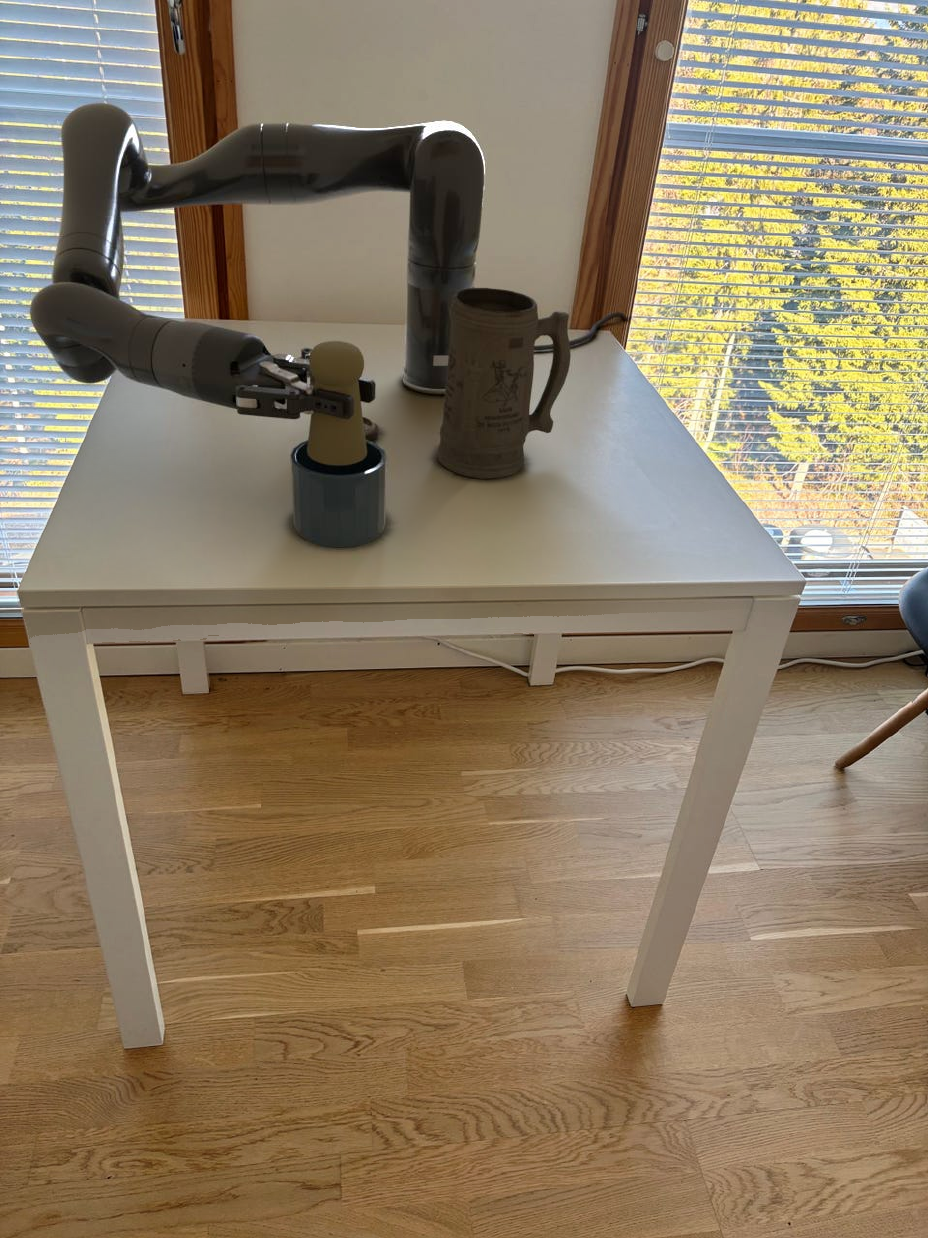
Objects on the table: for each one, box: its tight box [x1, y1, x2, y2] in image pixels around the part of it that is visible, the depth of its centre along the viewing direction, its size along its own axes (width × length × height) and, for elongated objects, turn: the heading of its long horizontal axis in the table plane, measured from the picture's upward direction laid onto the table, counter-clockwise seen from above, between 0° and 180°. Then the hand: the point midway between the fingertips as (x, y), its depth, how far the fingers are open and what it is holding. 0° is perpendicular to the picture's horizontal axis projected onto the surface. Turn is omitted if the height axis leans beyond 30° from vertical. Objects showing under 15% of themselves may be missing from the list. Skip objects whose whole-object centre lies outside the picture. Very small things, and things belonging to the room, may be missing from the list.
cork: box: [307, 340, 367, 466], centre depth 88 cm, size 6×6×11 cm
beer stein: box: [437, 287, 572, 479], centre depth 107 cm, size 15×11×20 cm
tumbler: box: [289, 439, 388, 548], centre depth 94 cm, size 10×10×8 cm
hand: (362, 399), depth 87 cm, fingers closed on cork, 4 cm apart
